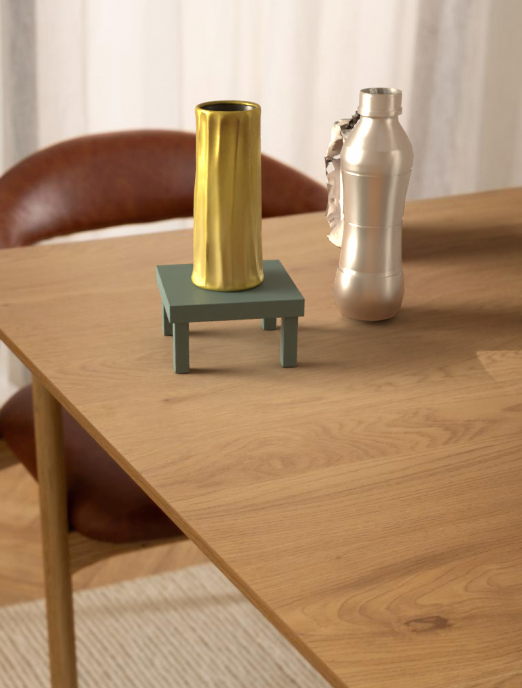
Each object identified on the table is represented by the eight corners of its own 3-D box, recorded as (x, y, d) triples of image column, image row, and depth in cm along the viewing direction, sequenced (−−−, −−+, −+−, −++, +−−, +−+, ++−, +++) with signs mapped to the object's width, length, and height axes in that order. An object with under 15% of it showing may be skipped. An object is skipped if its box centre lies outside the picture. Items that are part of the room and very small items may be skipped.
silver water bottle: (337, 330, 106) (348, 98, 97) (327, 305, 112) (337, 85, 103) (408, 328, 106) (427, 97, 97) (395, 304, 112) (411, 84, 103)
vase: (240, 266, 103) (242, 96, 97) (277, 285, 98) (281, 108, 92) (178, 277, 101) (175, 103, 94) (213, 297, 96) (213, 115, 89)
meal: (380, 264, 123) (389, 136, 117) (339, 265, 123) (346, 137, 117) (357, 226, 136) (364, 108, 130) (320, 226, 136) (325, 109, 130)
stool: (277, 323, 108) (279, 259, 105) (302, 368, 98) (305, 298, 95) (157, 329, 107) (155, 265, 104) (170, 375, 97) (169, 305, 94)
